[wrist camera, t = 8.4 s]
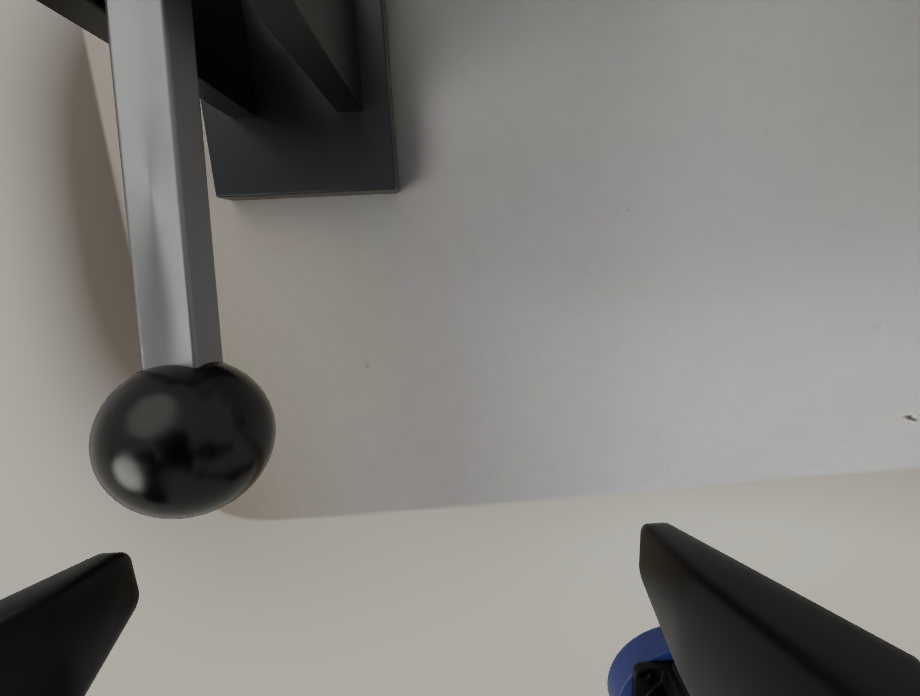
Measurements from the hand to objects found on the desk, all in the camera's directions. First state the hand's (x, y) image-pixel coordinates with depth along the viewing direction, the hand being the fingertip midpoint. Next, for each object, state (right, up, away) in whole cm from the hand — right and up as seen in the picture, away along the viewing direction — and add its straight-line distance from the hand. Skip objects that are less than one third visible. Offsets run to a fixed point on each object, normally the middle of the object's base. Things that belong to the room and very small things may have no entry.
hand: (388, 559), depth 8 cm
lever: (-5, +7, +3) cm, 9 cm away
